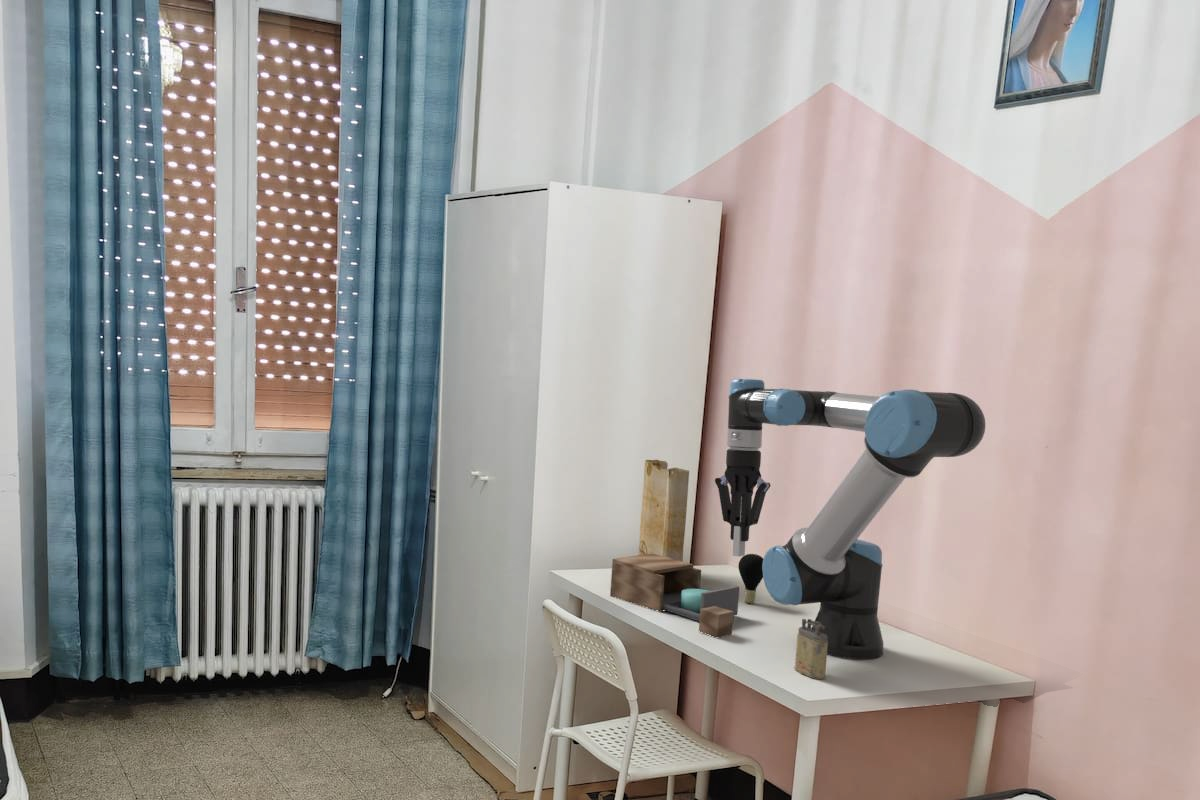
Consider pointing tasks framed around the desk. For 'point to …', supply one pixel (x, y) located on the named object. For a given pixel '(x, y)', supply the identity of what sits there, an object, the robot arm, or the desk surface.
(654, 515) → the tan piece
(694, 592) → the teal rounded puck
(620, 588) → the box
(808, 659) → the lighter
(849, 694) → the desk surface
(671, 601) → the tray
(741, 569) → the light bulb
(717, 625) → the block
